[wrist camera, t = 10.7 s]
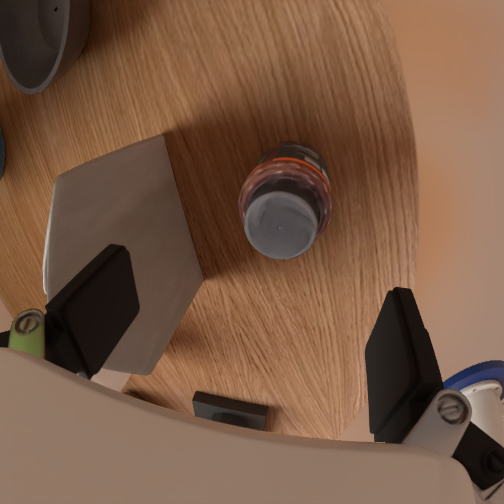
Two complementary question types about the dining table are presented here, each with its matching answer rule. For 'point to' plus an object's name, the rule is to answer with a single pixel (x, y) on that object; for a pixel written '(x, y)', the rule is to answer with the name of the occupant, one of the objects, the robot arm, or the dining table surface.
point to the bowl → (41, 40)
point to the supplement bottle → (286, 201)
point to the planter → (127, 242)
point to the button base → (229, 411)
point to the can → (111, 379)
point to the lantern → (2, 153)
